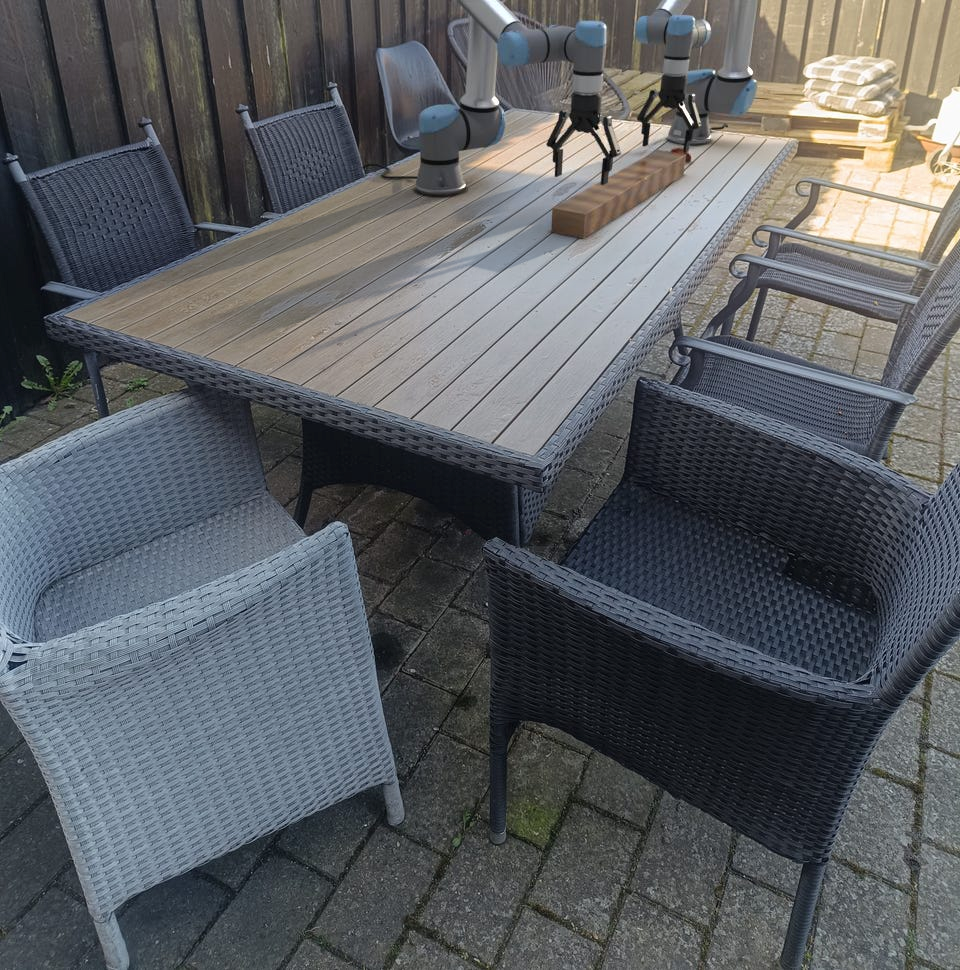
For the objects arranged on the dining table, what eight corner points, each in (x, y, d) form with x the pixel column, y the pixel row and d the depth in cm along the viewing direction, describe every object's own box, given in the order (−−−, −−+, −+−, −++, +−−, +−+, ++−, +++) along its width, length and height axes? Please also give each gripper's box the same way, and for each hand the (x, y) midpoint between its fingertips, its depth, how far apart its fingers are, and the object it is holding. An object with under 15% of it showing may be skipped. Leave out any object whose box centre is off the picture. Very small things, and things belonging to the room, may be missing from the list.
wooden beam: (583, 238, 223) (585, 214, 219) (551, 231, 227) (552, 207, 224) (683, 175, 271) (686, 154, 268) (655, 170, 276) (657, 149, 272)
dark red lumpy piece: (683, 144, 286) (693, 150, 280) (681, 156, 289) (692, 163, 282) (667, 145, 285) (678, 152, 279) (666, 158, 288) (676, 165, 281)
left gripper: (639, 95, 206) (630, 183, 219) (550, 84, 217) (546, 169, 230) (626, 100, 201) (618, 190, 214) (535, 89, 212) (532, 175, 225)
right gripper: (719, 76, 249) (707, 151, 261) (641, 68, 260) (633, 140, 272) (710, 80, 244) (698, 156, 256) (631, 71, 255) (623, 145, 267)
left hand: (580, 179), depth 222 cm, fingers open, 13 cm apart
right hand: (665, 148), depth 264 cm, fingers open, 13 cm apart
